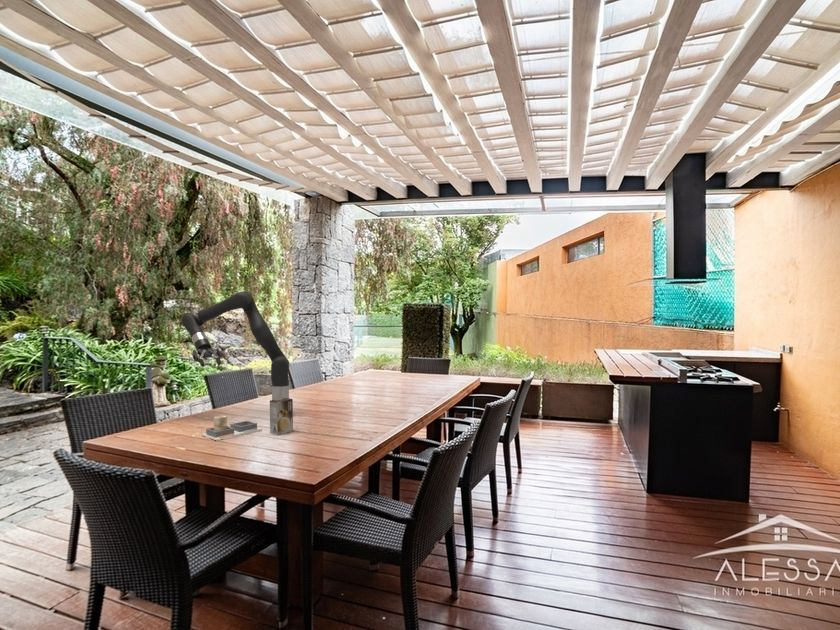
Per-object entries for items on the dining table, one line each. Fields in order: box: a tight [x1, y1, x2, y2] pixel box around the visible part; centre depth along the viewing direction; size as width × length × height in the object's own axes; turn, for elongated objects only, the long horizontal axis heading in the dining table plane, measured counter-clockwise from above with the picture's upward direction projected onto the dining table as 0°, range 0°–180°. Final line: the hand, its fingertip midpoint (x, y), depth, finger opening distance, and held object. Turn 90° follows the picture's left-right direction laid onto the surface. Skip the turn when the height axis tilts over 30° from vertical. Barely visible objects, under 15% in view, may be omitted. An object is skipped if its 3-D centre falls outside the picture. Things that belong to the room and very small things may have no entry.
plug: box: [213, 415, 228, 431], centre depth 214 cm, size 4×4×8 cm
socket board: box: [201, 420, 262, 441], centre depth 218 cm, size 23×14×4 cm, turn 142°
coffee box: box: [269, 397, 294, 436], centre depth 220 cm, size 9×6×16 cm
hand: (211, 365), depth 238 cm, fingers open, 8 cm apart
